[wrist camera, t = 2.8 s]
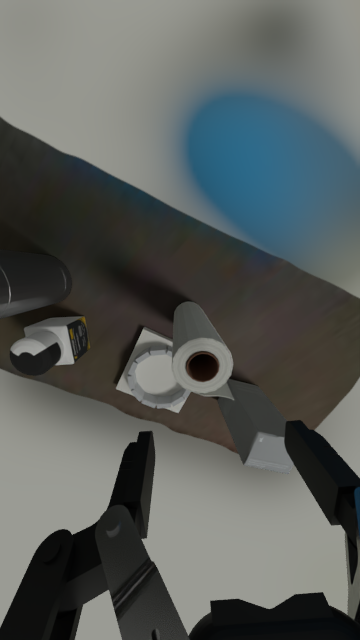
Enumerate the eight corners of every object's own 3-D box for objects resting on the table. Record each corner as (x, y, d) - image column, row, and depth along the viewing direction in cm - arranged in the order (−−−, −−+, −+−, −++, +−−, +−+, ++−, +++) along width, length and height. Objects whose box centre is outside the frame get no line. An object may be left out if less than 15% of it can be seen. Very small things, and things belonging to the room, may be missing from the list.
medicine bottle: (91, 348, 40) (56, 380, 29) (57, 350, 40) (9, 382, 29) (85, 315, 39) (46, 335, 27) (49, 317, 38) (-5, 338, 27)
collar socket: (117, 384, 43) (112, 396, 39) (144, 326, 39) (140, 332, 35) (178, 408, 45) (178, 421, 41) (208, 355, 41) (211, 364, 37)
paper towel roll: (172, 302, 38) (168, 341, 18) (202, 299, 38) (233, 335, 18) (175, 336, 40) (175, 407, 19) (204, 333, 40) (235, 402, 19)
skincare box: (216, 400, 44) (237, 469, 29) (227, 373, 43) (256, 432, 27) (249, 408, 45) (287, 480, 30) (262, 383, 43) (309, 445, 28)
